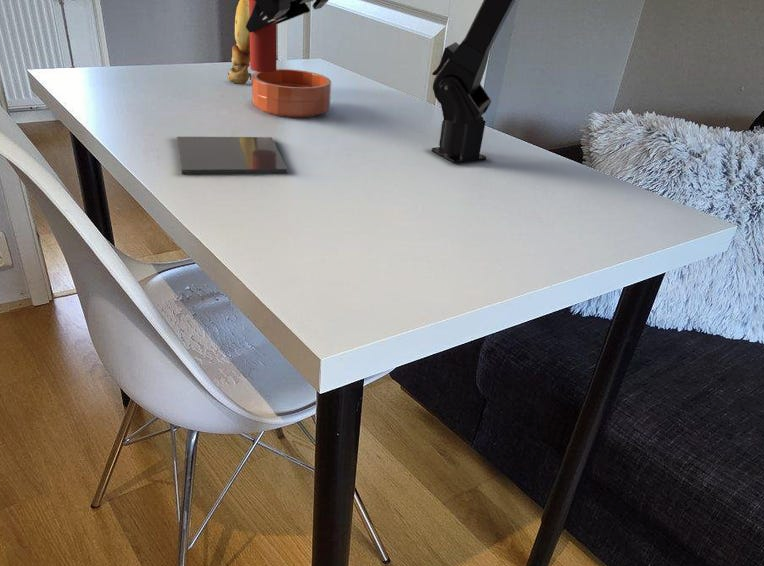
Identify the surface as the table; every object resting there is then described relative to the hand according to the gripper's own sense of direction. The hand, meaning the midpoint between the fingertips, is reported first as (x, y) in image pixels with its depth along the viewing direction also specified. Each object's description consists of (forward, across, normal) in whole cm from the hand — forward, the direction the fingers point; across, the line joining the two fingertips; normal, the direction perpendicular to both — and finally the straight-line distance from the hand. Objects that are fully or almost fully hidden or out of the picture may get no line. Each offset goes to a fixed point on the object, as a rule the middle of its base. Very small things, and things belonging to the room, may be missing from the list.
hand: (255, 28), depth 105 cm
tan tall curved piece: (+18, -17, +1) cm, 25 cm away
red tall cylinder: (+3, 0, +5) cm, 6 cm away
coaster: (+5, +21, +14) cm, 26 cm away
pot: (+8, -8, +11) cm, 16 cm away
